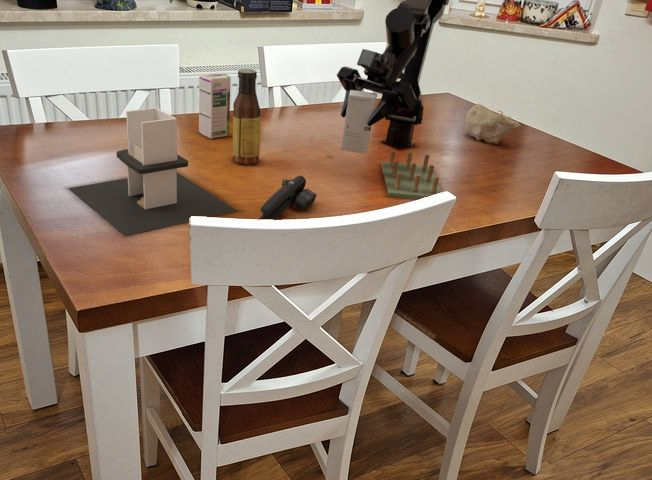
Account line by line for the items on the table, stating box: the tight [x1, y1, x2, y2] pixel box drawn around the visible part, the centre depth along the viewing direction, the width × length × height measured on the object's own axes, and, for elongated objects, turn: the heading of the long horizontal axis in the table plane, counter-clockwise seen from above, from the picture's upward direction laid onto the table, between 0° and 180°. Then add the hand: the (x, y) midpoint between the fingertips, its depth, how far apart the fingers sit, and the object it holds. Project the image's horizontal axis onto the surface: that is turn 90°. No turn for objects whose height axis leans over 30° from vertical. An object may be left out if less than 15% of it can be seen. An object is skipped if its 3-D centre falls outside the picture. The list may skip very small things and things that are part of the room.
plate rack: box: [380, 150, 443, 200], centre depth 147 cm, size 20×12×4 cm, turn 177°
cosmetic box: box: [340, 90, 378, 154], centre depth 142 cm, size 6×4×12 cm
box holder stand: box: [67, 107, 239, 237], centre depth 125 cm, size 25×24×16 cm
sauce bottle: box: [232, 68, 262, 166], centre depth 146 cm, size 6×6×20 cm
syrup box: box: [198, 71, 232, 139], centre depth 163 cm, size 6×6×14 cm
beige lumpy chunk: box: [464, 103, 522, 145], centre depth 179 cm, size 15×7×15 cm
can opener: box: [259, 175, 317, 220], centre depth 127 cm, size 18×7×6 cm, turn 150°
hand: (354, 120), depth 141 cm, fingers closed on cosmetic box, 7 cm apart
